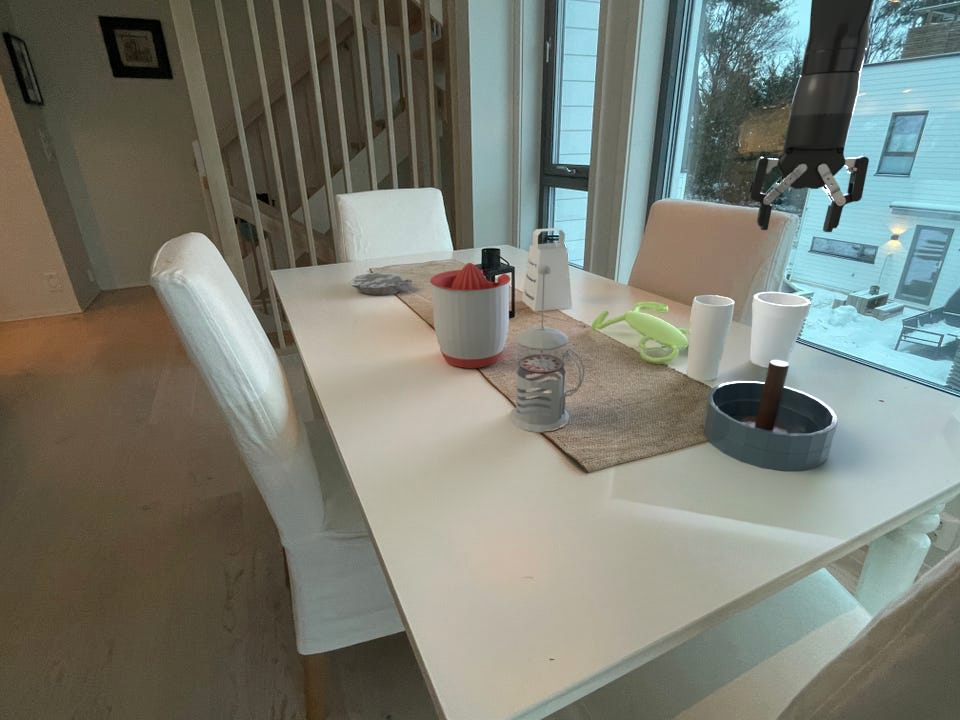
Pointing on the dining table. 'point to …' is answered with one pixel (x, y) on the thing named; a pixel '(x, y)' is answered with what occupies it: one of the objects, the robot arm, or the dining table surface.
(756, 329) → the foam cup
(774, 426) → the stirring muddler
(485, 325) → the citrus juicer
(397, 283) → the brain slice
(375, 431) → the dining table surface
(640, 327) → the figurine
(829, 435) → the bowl
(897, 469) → the dining table surface
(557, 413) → the french press
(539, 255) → the grater
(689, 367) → the drinking glass
